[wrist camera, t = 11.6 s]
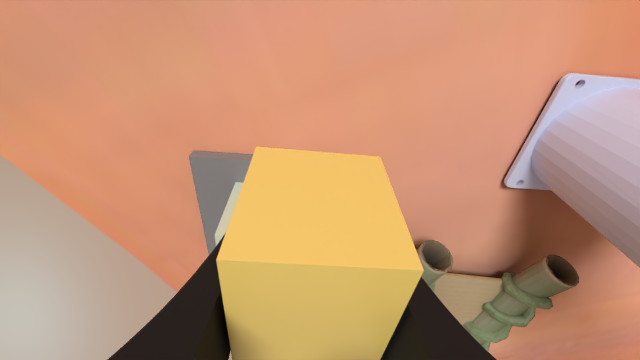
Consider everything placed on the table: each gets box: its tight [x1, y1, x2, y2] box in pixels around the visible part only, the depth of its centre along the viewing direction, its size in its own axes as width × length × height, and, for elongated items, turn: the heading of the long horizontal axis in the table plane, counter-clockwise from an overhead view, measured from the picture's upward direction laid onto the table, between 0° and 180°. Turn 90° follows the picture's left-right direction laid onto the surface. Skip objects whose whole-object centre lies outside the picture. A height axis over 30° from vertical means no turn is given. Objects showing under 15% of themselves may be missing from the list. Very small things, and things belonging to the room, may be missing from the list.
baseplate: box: [189, 151, 253, 255], centre depth 22 cm, size 10×10×1 cm
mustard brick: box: [216, 147, 424, 360], centre depth 10 cm, size 4×6×5 cm
